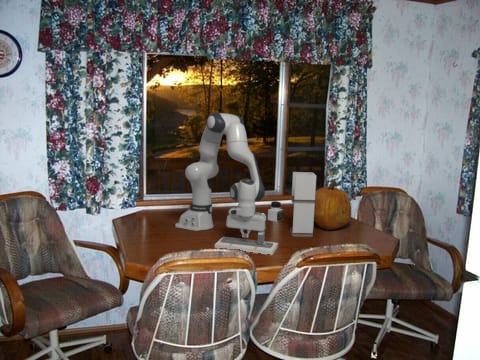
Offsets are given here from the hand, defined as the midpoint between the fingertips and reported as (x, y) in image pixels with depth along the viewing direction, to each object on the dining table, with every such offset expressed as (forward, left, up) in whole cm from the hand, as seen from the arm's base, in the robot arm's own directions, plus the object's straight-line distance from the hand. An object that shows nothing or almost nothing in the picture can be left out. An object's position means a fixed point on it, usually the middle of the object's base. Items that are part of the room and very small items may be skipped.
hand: (245, 237), depth 231 cm
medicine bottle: (+4, +59, -6) cm, 59 cm away
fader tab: (+8, 0, -3) cm, 9 cm away
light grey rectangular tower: (+24, +35, -5) cm, 43 cm away
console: (+1, 0, -5) cm, 5 cm away
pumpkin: (+38, +55, -6) cm, 67 cm away
